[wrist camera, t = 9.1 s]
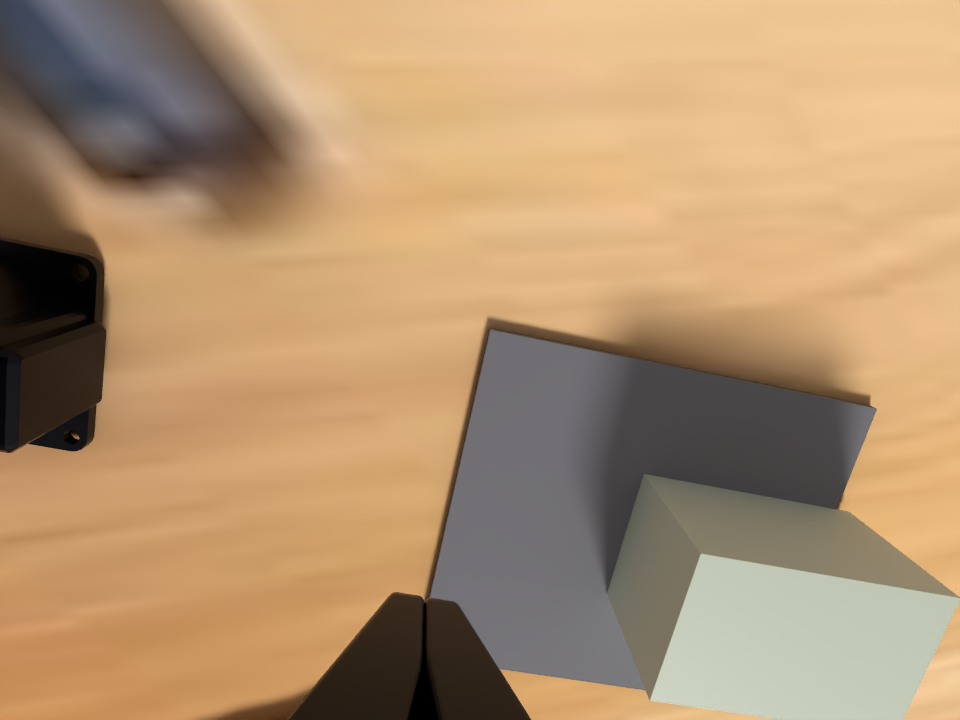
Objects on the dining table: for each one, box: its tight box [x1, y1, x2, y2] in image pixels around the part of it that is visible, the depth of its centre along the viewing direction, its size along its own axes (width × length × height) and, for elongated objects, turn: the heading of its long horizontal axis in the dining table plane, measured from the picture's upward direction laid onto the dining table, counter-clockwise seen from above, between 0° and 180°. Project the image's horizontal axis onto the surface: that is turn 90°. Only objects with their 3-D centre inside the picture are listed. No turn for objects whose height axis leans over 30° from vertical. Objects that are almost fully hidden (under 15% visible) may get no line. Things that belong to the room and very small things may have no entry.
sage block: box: [607, 474, 960, 720], centre depth 20 cm, size 5×5×8 cm
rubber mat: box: [429, 328, 877, 690], centre depth 22 cm, size 14×13×1 cm
